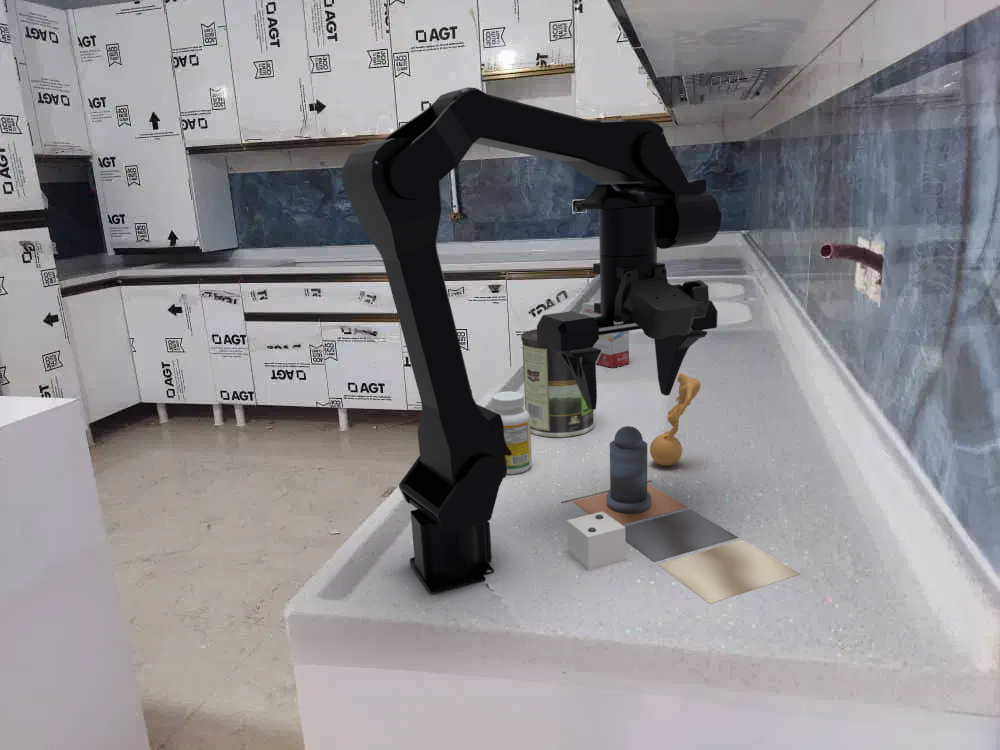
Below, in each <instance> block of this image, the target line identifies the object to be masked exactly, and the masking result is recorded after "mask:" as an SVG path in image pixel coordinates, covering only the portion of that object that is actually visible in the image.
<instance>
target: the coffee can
mask: <svg viewBox="0 0 1000 750" xmlns="http://www.w3.org/2000/svg"><path fill="white" fill-rule="evenodd" d="M520 338H521V342H522V359H523V360H522V361H523V362H522V364H523V384H524V385H523V386H524V387H523V388H524V403H525V404H524V407H525V408H524V409H525V410H526V411H527V412H528V413H529V415H530V430H531V434H533V435H536V436H540V437H544V438H545V437H546V438H547V437H548V438H569V437H576V436H580V435H581V436H582V435H584V434H587V433H589V432H591V431H592V430H593V429H594V428H595V422H594V420H595V419H594V416H595V415H594V411H595V410H591V409H589V408H588V407H587V405H586V403H585V400H584V398H583V396H582V394H581V392H580V390H579V388H578V385H577V383H576V381H575V379H574V377H573V375H572V373H571V371H570V369H569V367H568V366H567V364H566V362H565V361H564V359H563V357H562V356H561V354H560V353H559V352H557V351H555V350H552V349H550V348H549V346H547V345H545V344H542V343H540V342H537V328H535V329H530V330H528V331H526V332H522V333H521V335H520Z"/></svg>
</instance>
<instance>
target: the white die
mask: <svg viewBox="0 0 1000 750" xmlns="http://www.w3.org/2000/svg"><path fill="white" fill-rule="evenodd" d="M566 529H567V530H566V532H567V533H566V536H567V538H566V539H567V553H569V554H570V555H571V556H572V557H574V558H575V559H576V560H577V561H578V562H579V563H580V564H581V565H583V566H584V567H585V568H586V569H587V570H588V571H590V570H594V569H597V568H601V567H604V566H608V565H611V564H615V563H619V562H623V561H625V560H626V559H627V558H626V548H627V547H626V541H625V525H624V524H623V525H621V524H620V523H618V522H617V521H616V520H614V519H613V518H611V517H610V516H609V515H607V514H606V513H604V512H603V511H602V512H598V513H594V514H586V515H583V516H579V517H575V518H571V519H567V520H566Z"/></svg>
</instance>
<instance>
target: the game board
mask: <svg viewBox="0 0 1000 750" xmlns="http://www.w3.org/2000/svg"><path fill="white" fill-rule="evenodd" d="M651 482H653V480H647V492H649V493H650V495H651V507H650V509H649V510H647V511H645V512H642V513H637V514H623V513H618V512H615V511H612V510H611V509H609V508H608V506H607V493H608V492H609V491H610V489H608V490H604V491H600V492H595V493H593V494H588V495H583V496H579V497H575V498H572V499H567V500H563V501H561V504H565V503H569V502H572V503H573V504H575V505H576V506H577V507H579V508H580V509H581V510H583V511H584V512H586V513H587V515H590V514H594V513H598V512H602V511H603V512H604V513H606V514H607V515H609V516H610V517H611V518H613V519H614V520H616V521H617V522H618V523H620V524H621V525H623V526H624V527H625V543H627V544H629V546H631V547H633V548H634V549H636V551H638V552H640V553H641V554H642V555H643V556H644V557H646V558H647V559H649V560H650V561H652V562H653V563H655V562H656V563H657V562H659V561H663V560H667V559H670V558H673V557H676V556H680V555H683V554H686V553H690V552H691V553H692V552H694V551H697V550H700V549H704V548H708V547H711V546H714V545H717V544H721V543H725V542H728V541H731V540H736V539H738V538H739V536H737V535H735V534H734V533H732V532H730V531H728V530H727V529H725V528H724V527H722V526H720V525H719V524H717V523H715V522H713V521H711V520H710V519H708V518H707V517H706V516H703V515H702V514H700V513H698V512H696V511H695V510H693V509H692V508H690V509H687V508H688V506H686V505H684V504H683V503H682V502H679V501H678V500H677V499H675V498H673V497H671V496H669V495H668V494H666V493H664V492H663V491H661V490H659V489H657V488H656V487H654V486H652V484H650V483H651ZM683 509H686V510H683ZM678 510H683V511H678ZM676 511H678V512H676ZM671 512H676V513H671ZM667 513H670V514H668V515H664V514H667ZM660 515H662V516H660ZM663 515H664V516H663ZM657 516H660V517H657ZM652 517H655V518H653V519H649V518H652ZM645 519H649V520H645ZM640 520H643V521H640ZM637 521H640V522H637ZM633 522H637V523H633ZM629 523H633V524H629ZM625 524H628V525H627V526H626V525H625ZM657 566H658V567H659V568H661V569H662V570H663V571H665V572H666V573H668V574H669V575H670V576H671V577H673V578H675V579H676V580H677V581H678V582H679V583H681V584H682V585H683V586H685V587H686V588H687V589H689V590H690V591H692V592H693V593H694V594H696V595H697V596H699V597H700V598H701V599H702V600H704V601H706V602H707V603H708V604H710V605H712V604H714V603H717V602H720V601H723V600H726V599H730V598H733V597H736V596H739V595H741V594H742V595H743V594H744V593H748V592H751V591H754V590H757V589H759V588H763V587H766V586H769V585H773V584H775V583H778V582H781V581H784V580H787V579H790V578H793V577H797V576H800V575H801V573H800V572H798V571H797V570H794V569H793V568H792V567H789V566H788V565H786V564H784V563H783V562H781V561H779V560H777V559H776V558H774V557H773V556H771V555H770V554H767V553H766V552H764V551H763V550H761V549H759V548H757V547H756V546H754V545H753V544H751V543H750V542H747V541H746V540H743V539H741V540H737V541H733V542H730V543H726V544H723V545H720V546H717V547H712V548H709V549H706V550H704V551H700V552H696V553H693V554H688V555H685V556H683V557H680V558H675V559H672V560H669V561H665V562H663V563H658V564H657Z"/></svg>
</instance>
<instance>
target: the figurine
mask: <svg viewBox="0 0 1000 750" xmlns="http://www.w3.org/2000/svg"><path fill="white" fill-rule="evenodd" d="M676 381H677V382H678V383H679V387H678V396H676V398H675V401H674V402H675V403H676V404H675V405H674V406H673V407H672V408H671V409H670V410H669V411H668V413H667V414H668V415H667V421H668V423H670V425H671V427H672V428H671V429H670V430H668V431H664V433H662V434H660V435H657V436H656V437H655V438H654V439H652V441H651V443H650V446H649V453H650V456H651V459H652V460H653V461H654V462H655V463H656V464H658V465H660V466H662V467H663V466H664V467H668V466H673V465H675V464H676V463H678V461H680V459H681V457H682V456H683V446H682V443H681V441H680V440H679V438H677V437H676V436H675V435H676V434H677V432H678V431H679V426H680V425H679V423H680V421H679V419H680V417H681V416H683V414H684V413H685V412H686V409H687V407H688V406H690V405H691V403H692V401H693V400H694V398H695V397H696V396H697V394H698V393H699V391H700V389H701V382H700V380H698V379H697V378H695V377H690V376H687V375H686V374H685V373H683V372H681V373H679V374H677V377H676Z"/></svg>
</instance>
